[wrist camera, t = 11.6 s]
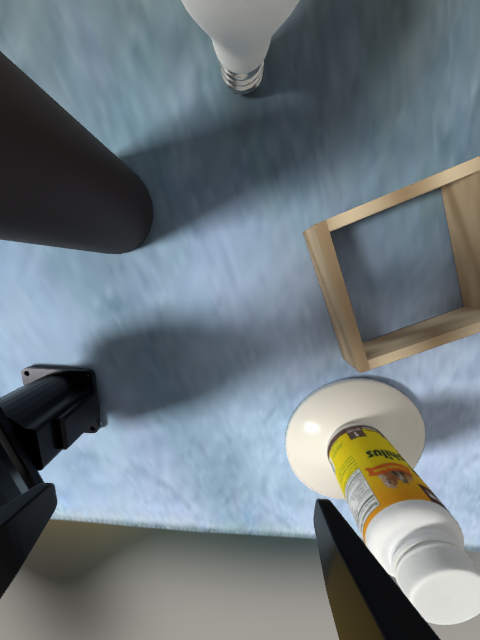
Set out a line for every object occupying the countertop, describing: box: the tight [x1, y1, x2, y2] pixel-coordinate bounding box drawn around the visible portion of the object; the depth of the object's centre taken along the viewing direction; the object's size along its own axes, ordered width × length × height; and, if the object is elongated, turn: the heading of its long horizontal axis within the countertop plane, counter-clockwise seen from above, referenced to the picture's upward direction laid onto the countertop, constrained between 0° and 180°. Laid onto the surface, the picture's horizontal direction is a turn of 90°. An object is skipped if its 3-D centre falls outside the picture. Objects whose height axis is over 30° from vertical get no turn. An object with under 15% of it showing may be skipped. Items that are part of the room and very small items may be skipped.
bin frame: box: [303, 156, 480, 373], centre depth 17 cm, size 12×12×3 cm
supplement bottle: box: [327, 423, 480, 625], centre depth 16 cm, size 6×6×10 cm
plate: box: [285, 378, 425, 500], centre depth 22 cm, size 13×13×1 cm
